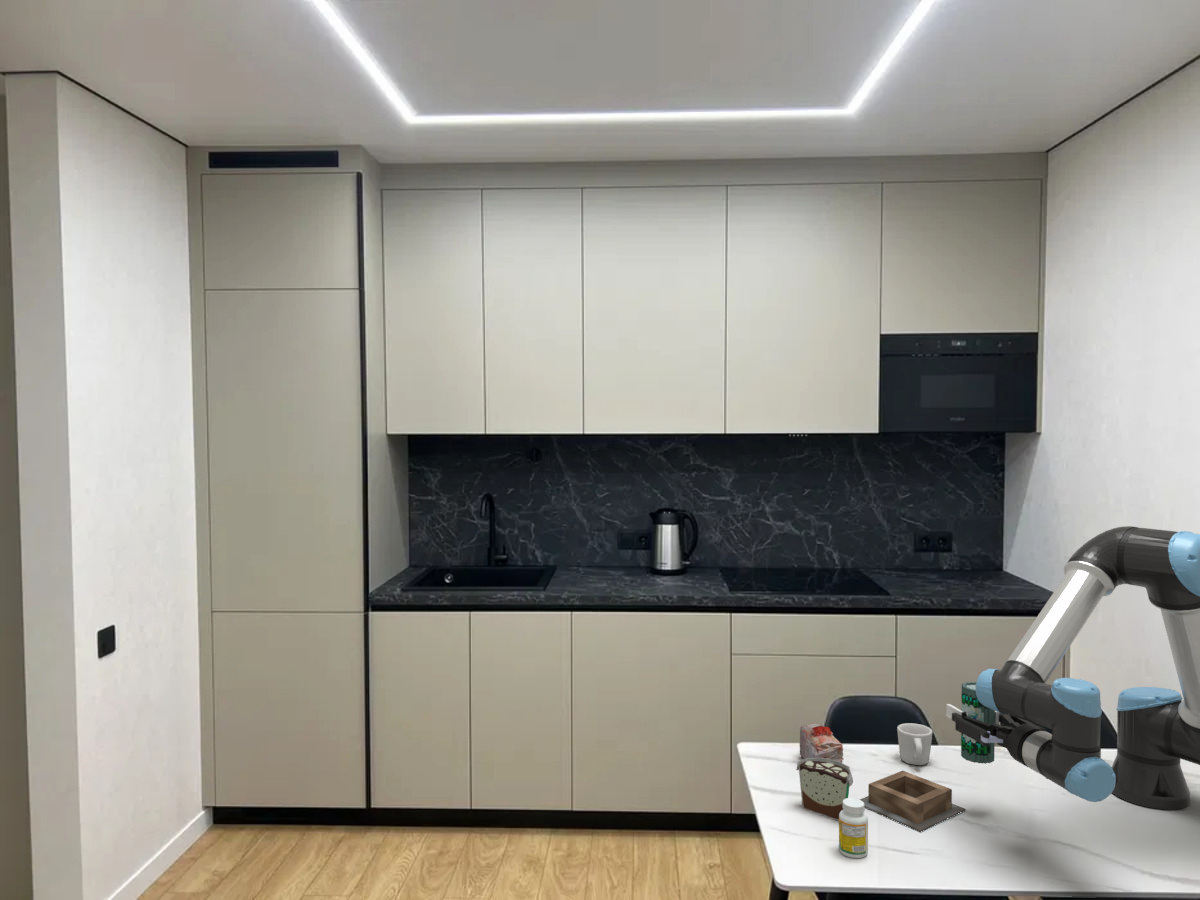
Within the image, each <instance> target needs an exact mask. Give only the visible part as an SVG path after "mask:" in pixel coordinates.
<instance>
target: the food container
mask: <svg viewBox="0 0 1200 900" xmlns="http://www.w3.org/2000/svg"><path fill="white" fill-rule="evenodd" d="M796 771H798V773H799V784H800V794H801V806H802V810H805V811H808V812H811V813H814V814H817V815H820V816H822V817H826V818H829V819H831V820H834V821H837V822H839V814H840V812H841V811H842V810H843V807H842V806H843V800H844V799H846V798H849V792H850V787H851V786H852V785H853V784H854V777H853V774H852V771H851V769H850V767H848V765H846V764H845V763H844V762H842V763H841V762H838V761H835V760H831V759H825V758H807V759H804V758H802V759H801V760H798V763H797V764H796Z"/></svg>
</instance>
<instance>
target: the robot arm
mask: <svg viewBox="0 0 1200 900" xmlns="http://www.w3.org/2000/svg"><path fill="white" fill-rule="evenodd" d="M1063 573H1064V576H1063V578H1062V580H1061V581H1060V582H1059V584H1058V586H1057V587H1056V588H1055V590H1054V592H1053V593H1052V594H1051V596H1050V597H1049V599H1048V600H1047V601H1046V603H1045V605H1044V606H1043V607H1042V609H1041V610H1040V612H1039V613H1038V615H1037V617H1036V618H1035V619H1034V621H1033V622H1032V624H1031V625H1030V627H1029V628H1028V629H1027V631H1026V632H1025V634H1024V635H1023V637H1022V638H1021V640H1020V641H1019V643H1018V644H1017V645H1016V647H1015V649H1014V650H1013V651H1012V653H1011V654H1010V656H1009V658H1008V659H1007V660H1006V661H1005V663H1004V664H1003V666H1002V667H1001V668H1000V669H998V668H986V669H985V670H983V671H982V672H980V674H979V675H978V677H977V680H976V681H975V682H976V695H977V698H978V700H979V702H980V703H981V704H982V705H984V706H986V707H988V708H990V709H992V710H995V724H992V725H991V724H988V723H985V722H983V721H980V720H977V719H974V718H971V717H968V714H967V712H963V711H962V710H961V709H959V708H958V707H956V706H954V705H952V704H951V703H946V709H945V710H946V713H945V715H946V718H948V719H950V720H951V721H952V722H954V726H955V727H954V729H955V731H956V732H959V733H960V734H961V733H962V734H964V735H966V736H968V737H970V738H972V739H974V740H976V741H978V742H980V743H981V744H982V745H983V746H985V747H989V744H990V743H995V744H997V745H998V746H999V747H1001V748H1004V749H1006V750H1007V752H1008V753H1009V755H1010V756H1011V757H1012V758H1013V759H1014V760H1015V761H1016V762H1018V763H1019V764H1022V765H1023V766H1025V767H1027V768H1029V769H1031V770H1032V771H1034V772H1036V773H1037V774H1039V775H1041V776H1043V777H1044V778H1045V779H1047V780H1049V781H1051V782H1053V783H1054V784H1056V785H1057V786H1059V787H1061V788H1063V789H1064V790H1066V791H1067V792H1068V793H1069V794H1071V795H1074V796H1076V797H1079V798H1081V799H1083V800H1084V801H1085V800H1086V801H1087V802H1093V803H1098V802H1101V801H1104V800H1106V799H1107V798H1108V797H1110V796H1111V794H1112V795H1114V794H1115V796H1116V797H1117V796H1118V797H1117V798H1119V797H1120V798H1119V799H1121V798H1122V800H1123V799H1124V801H1126V802H1129V803H1132V804H1135V805H1137V806H1142V807H1146V808H1151V809H1157V810H1181V809H1184V808H1187V807H1188V806H1190V802H1191V801H1190V799H1191V798H1190V795H1191V793H1190V788H1189V786H1188V784H1187V781H1186V778H1185V776H1184V773H1183V770H1182V766H1181V760H1183V761H1186V762H1189V763H1192V764H1195V765H1198V766H1200V533H1194V532H1191V531H1188V530H1184V531H1183V530H1181V531H1175V530H1174V531H1173V530H1166V529H1155V528H1146V527H1138V526H1130V525H1129V526H1119V527H1115V528H1110V529H1108V530H1105V531H1103V532H1100V533H1099V534H1097V535H1096V536H1094V537H1092V538H1091V539H1089V540H1088V541H1086V542H1085V543H1084V544H1083V545H1081V546H1080V547H1079V548H1078V549H1077V550H1076V551H1075V552H1074V553H1073V554H1072V555H1071V557H1070V558H1069V559H1068V561H1067V562H1066V564H1065V565H1064V567H1063ZM1122 585H1129V586H1135V587H1140V588H1145V590H1146V593H1147V597H1148V600H1149V603H1151V605H1152V606H1154V607H1155V608H1158V609H1160V612H1161V616H1162V620H1163V623H1164V628H1165V631H1166V632H1165V633H1166V636H1167V639H1168V644H1169V647H1170V650H1171V654H1172V659H1173V663H1174V666H1175V670H1176V674H1177V677H1178V682H1179V685H1180V690H1181V692H1182V693H1180V692H1179V691H1177V690H1175V689H1171V688H1163V687H1156V686H1138V687H1137V686H1135V687H1129V688H1126V689H1123V690H1122V691H1120V693H1119V694H1118V697H1117V699H1118V700H1117V707H1116V711H1117V716H1116V717H1117V718H1116V720H1117V722H1116V723H1117V724H1116V726H1117V728H1116V730H1117V733H1116V734H1117V736H1116V737H1117V738H1116V739H1117V740H1116V741H1117V742H1116V745H1117V747H1116V755H1115V758H1114V761H1113V764H1112V765H1111V764H1110V763H1108V762H1106V760H1105V759H1103V758H1101V757H1102V748H1101V723H1102V722H1101V719H1102V714H1103V710H1102V706H1101V705H1102V701H1101V691H1100V689H1099V687H1098V686H1097V685H1096V684H1094V683H1093V682H1090V681H1088V680H1085V679H1081V678H1079V679H1078V678H1074V677H1073V678H1072V677H1061V678H1056V679H1055V680H1054V681H1053V682H1052V684H1047V682H1048V681H1049V679H1050V677H1051V676H1052V674H1053V673H1054V671H1055V670H1056V668H1057V666H1058V665H1059V664H1060V662H1061V661H1062V659H1063V658H1064V657H1065V655H1066V653H1067V651H1068V650H1069V648H1070V647H1071V646H1072V644H1073V642H1074V640H1075V639H1076V638H1077V636H1078V635H1079V633H1080V632H1081V631H1082V628H1083V627H1084V625H1085V624H1086V623H1087V621H1088V619H1089V618H1090V616H1091V615H1092V614H1093V612H1094V610H1095V609H1096V607H1097V606H1098V604H1099V603H1100V601H1101V600H1102V598H1103V597H1107V596H1110V595H1111V594H1113V592H1114V591H1115V589H1116V588H1117V587H1118V586H1122ZM1044 727H1045V728H1044ZM1047 728H1048V729H1051V731H1050V732H1051V733H1050V732H1048V731H1046V729H1047Z"/></svg>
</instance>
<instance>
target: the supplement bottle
mask: <svg viewBox="0 0 1200 900" xmlns="http://www.w3.org/2000/svg"><path fill="white" fill-rule="evenodd" d="M842 807H843V810H842V811H841V812H840V814H839V821H838V849H839V852H840V853H841V854H842V855H843V856H846V857H847V858H851V859H852V858H853V859H862V858H864V857H866V856H867V855H868V852H869V818H868V817H869V816H868V815H867V814H866V813H865V809H866V808H864V802H863V801H861V800H860V799H858V798H854V797H848V798H846V799H844V800H843V806H842Z"/></svg>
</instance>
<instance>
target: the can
mask: <svg viewBox="0 0 1200 900" xmlns="http://www.w3.org/2000/svg"><path fill="white" fill-rule="evenodd" d="M976 682H977V681H975V682H974V681H968V682H967V681H966V682H964V683H961V702H960V703H961V706H960V707H961V709H960V710H962V711H963V712H967V714H968V717H971V718H974V719H977V720H980V721H983V722H985V723H988V724H991V725H992V724H995V710H992V709H990V708H988V707H986V706H984V705H982V704H981V703H980V702H979V700H978V698H977V695H976ZM960 734H961V735H960V737H961V739H960V743H961V744H960V756H961V757H962V759H965V761H968V762H971V763H974V764H975V763H978V764H982V765H983V764H984V765H985V764H986V765H987V764H991V763H994V762H995V744H996V743H990V744H989V747H985V746H983V745H982V744H981V743H980V742H978V741H976V740H974V739H972V738H970V737H968V736H966V735H964V734H962V733H960Z"/></svg>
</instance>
